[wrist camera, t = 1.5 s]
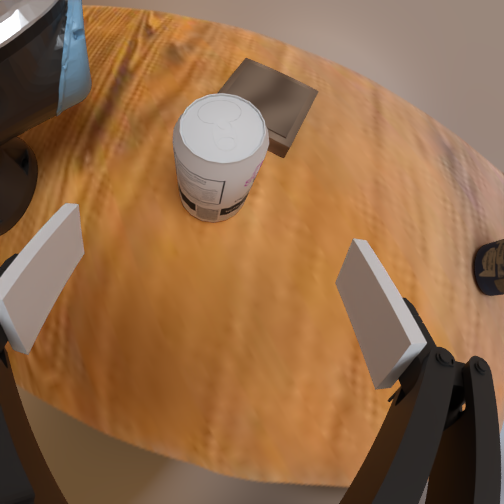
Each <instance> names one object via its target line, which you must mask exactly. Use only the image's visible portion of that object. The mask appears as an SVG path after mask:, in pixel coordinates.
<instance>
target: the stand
mask: <svg viewBox="0 0 504 504" xmlns="http://www.w3.org/2000/svg"><path fill="white" fill-rule="evenodd" d="M220 93H225V94H231V95H236V96H239V97H241V98H243V99H245V100H247V101H249V102H251V103H252V104H253V105H254V106H255V107H256V108H257V109H258V110H259V111H260V113H261V115H262V117H263V119H264V121H265V125H266V127H267V129H268V135H269V146H268V149H267V150H268V151H270V152H272V153H274V154H276V155H278V156H280V157H282V158H284V157H285V155H286V153H287V152H288V150H289V148H290V146H291V145H292V143H293V141H294V139H295V137H296V135H297V133H298V131H299V129H300V127H301V125H302V123H303V121H304V119H305V117H306V115H307V113H308V111H309V109H310V107H311V105H312V103H313V101H314V99H315V97H316V95H317V93H318V91H317V90H315V89H313V88H311V87H309V86H307V85H305V84H303V83H301V82H299V81H297V80H295V79H293V78H291V77H289V76H287V75H285V74H283V73H280V72H278V71H276V70H274V69H272V68H269V67H267V66H265V65H262V64H260V63H258V62H255V61H253V60H250V59H248V58H245V60H244V61H243V62H242V63H241V64H240V66H239V67H238V68H237V69H236V71H235V72H234V73H233V74H232V75H231V77H230V78H229V79H228V81H227V82H226V83H225V84H224V86H223V87H222V88H221V89H220V91H219V92H218V93H217V94H220Z"/></svg>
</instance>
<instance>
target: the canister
mask: <svg viewBox="0 0 504 504" xmlns="http://www.w3.org/2000/svg"><path fill="white" fill-rule="evenodd" d="M475 275H476V280H477V283H478V285H479V287H480V289H481V290H482V292H483V293H485V294H486V295H490V296H494V295H503V294H504V239H502V240H499V241H496V242H492V243H489V244H486V245H484V246H482V247H481V248H480V249H479V251H478V253H477V255H476V259H475Z"/></svg>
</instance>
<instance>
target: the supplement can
mask: <svg viewBox="0 0 504 504" xmlns="http://www.w3.org/2000/svg"><path fill="white" fill-rule="evenodd" d="M268 146H269V135H268V129H267V127H266V125H265V121H264V119H263V117H262V115H261V113H260V111H259V110H258V109H257V108H256V107H255V106H254V105H253V104H252V103H251V102H249V101H247V100H245V99H243V98H241V97H239V96H236V95H231V94H225V93H220V94H210V95H207V96H204V97H202V98H199V99H197V100H195V101H194V102H193V103H192V104H191V105H189V106H188V107H187V108H186V110H185V112H184V113H183V114H182V115H181V116H180V117H179V119H178V121H177V123H176V125H175V127H174V132H173V149H174V157H175V165H176V173H177V180H178V187H179V194H180V198H181V201H182V203H183V206H184V207H185V208H186V210H187V211H188V212H189V213H190V214H191V215H192V216H194V217H196V218H198V219H200V220H202V221H208V222H218V221H224V220H227V219H228V218H230V217H232V216H234V215H235V214H236V213H237V212H238V211H239V210H240V209H241V207H242V206H243V204H244V202H245V200H246V197H247V195H248V193H249V191H250V189H251V186H252V184H253V182H254V180H255V178H256V175H257V173H258V171H259V169H260V167H261V164H262V162H263V160H264V158H265V155H266V152H267V149H268Z"/></svg>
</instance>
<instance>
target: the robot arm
mask: <svg viewBox="0 0 504 504" xmlns="http://www.w3.org/2000/svg"><path fill="white" fill-rule="evenodd" d="M91 86H92V82H91V75H90V69H89V62H88V55H87V48H86V41H85V31H84V21H83V10H82V0H0V235H1V234H3V233H5V232H7V231H8V230H9V229H10V228H12V227H13V226H14V225H15V224H16V223H17V221H18V220H19V219H20V218H21V216H22V215H23V214H24V212H25V210H26V209H27V207H28V205H29V203H30V201H31V198H32V196H33V193H34V190H35V186H36V181H37V171H38V169H37V161H36V157H35V155H34V153H33V151H32V150H31V148H30V147H29V146H28V145H27V144H26V143H25V142H24V141H23V140H22V139H20V138H18V137H17V136H18V135H20V134H22V133H24V132H25V131H27V130H29V129H31V128H33V127H34V126H36V125H38V124H40V123H42V122H44V121H46V120H48V119H50V118H52V117H54V116H59V115H60V114H61V112H62V111H64V110H66V109H68V108H70V107H72V106H74V105H76V104H77V103H79V102H81V101H83V100H84V99H85V98H86V97H87V95H88V94H89V92H90V90H91ZM83 255H84V247H83V240H82V232H81V223H80V214H79V204H70V203H65V204H64V205H63V206H62V207H61V208H60V209H59V210H58V211H57V212H56V213H55V214H54V215H53V216H52V217H51V218H50V219H49V220H48V222H47V223H46V224H45V225H44V226H43V227H42V228H41V229H40V230H39V231H38V232H37V234H36V235H35V236H34V237H33V238H32V239H31V240H30V242H29V243H28V244H27V245H26V246H25V247H24V249H23V250H22V251H21V252H20V253H19V254H14V255H13V256H11V257H10V258H8V259H7V260H6V261H5V262H4V263H3V265H2V266H1V267H0V504H68V503H67V501H66V499H65V497H64V496H63V494H62V493H61V490H60V489H59V487H58V485H57V483H56V481H55V479H54V477H53V476H52V474H51V472H50V470H49V468H48V466H47V464H46V462H45V459H44V457H43V455H42V453H41V451H40V449H39V446H38V444H37V442H36V439H35V437H34V434H33V432H32V430H31V427H30V425H29V422H28V419H27V416H26V414H25V411H24V408H23V406H22V402H21V399H20V396H19V393H18V390H17V387H16V383H15V380H14V376H13V373H12V369H11V365H10V361H9V357H8V353H7V351H6V349H5V345H6V343H7V341H9V343H10V344H11V346H12V348H13V350H15V351H18V352H21V353H24V354H27V355H29V352H30V350H31V348H32V346H33V344H34V342H35V340H36V338H37V336H38V334H39V332H40V330H41V328H42V326H43V324H44V322H45V320H46V318H47V316H48V314H49V312H50V311H51V309H52V307H53V305H54V303H55V301H56V300H57V298H58V296H59V294H60V293H61V291H62V289H63V287H64V286H65V284H66V282H67V281H68V279H69V277H70V276H71V274H72V272H73V271H74V269H75V267H76V266H77V264H78V263H79V261H80V259H81V258H82V256H83ZM335 283H336V286H337V288H338V291H339V293H340V296H341V298H342V301H343V303H344V306H345V308H346V311H347V313H348V316H349V318H350V321H351V324H352V326H353V329H354V331H355V334H356V337H357V339H358V342H359V345H360V348H361V350H362V353H363V356H364V359H365V361H366V364H367V367H368V370H369V373H370V376H371V378H372V381H373V384H374V387H375V389H384V388H391V387H392V386H393V385H394V383H395V382H396V381H397V380H398V379H399V381H400V384H401V386H400V387H399V389H398V390H397V391H396V392H395V393H394V394H393V395H392V396H391V397H390V398H389V400H388V402H390V401H391V400H392V399H393V402H392V404H391V406H390V409H389V411H388V413H387V415H386V418H385V420H384V422H383V424H382V426H381V429H380V431H379V433H378V435H377V437H376V439H375V441H374V443H373V445H372V447H371V449H370V451H369V453H368V455H367V457H366V459H365V460H364V462H363V464H362V466H361V468H360V470H359V471H358V473H357V475H356V477H355V478H354V480H353V482H352V483H351V485H350V487H349V489H348V490H347V492H346V493H345V495H344V497H343V498H342V500H341V501H340V503H339V504H418V503H419V500H420V498H421V496H422V493H423V491H424V488H425V485H426V483H427V480H428V477H429V482H428V489H427V495H426V501H425V504H500V491H501V451H500V434H499V423H498V413H497V405H496V398H495V391H494V385H493V379H492V374H491V370H490V367H489V365H488V364H487V362H486V361H485V360H484V359H482V358H480V357H478V356H473V357H471V358H470V360H469V361H468V362H467V363H466V364H465V363H461V362H457V361H455V359H454V357H453V356H452V354H451V353H450V352H449V351H447V350H446V349H444V348H442V347H436V345H435V343H434V341H433V339H432V337H431V336H430V334H429V332H428V330H427V328H426V327H425V325H424V323H422V322H423V321H422V319H421V318H420V316H418V315H419V314H418V313H417V311H416V309H415V307H414V306H413V305H412V304H411V303H410V302H409V301H408V300H407V299H406V298H402V297H401V295H400V293H399V292H398V290H397V288H396V287H395V285H394V283H393V282H392V280H391V278H390V277H389V275H388V273H387V272H386V270H385V269H384V267H383V265H382V264H381V262H380V261H379V259H378V258H377V256H376V254H375V253H374V251H373V250H372V248H371V247H370V245H369V244H368V242H367V241H366V240H360V239H354V238H353V240H352V243H351V245H350V248H349V250H348V253H347V255H346V258H345V260H344V263H343V265H342V268H341V270H340V273H339V275H338V277H337V280H336V282H335ZM464 403H465V404H466V407H465V410H464V411H462V405H463V404H464Z"/></svg>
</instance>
